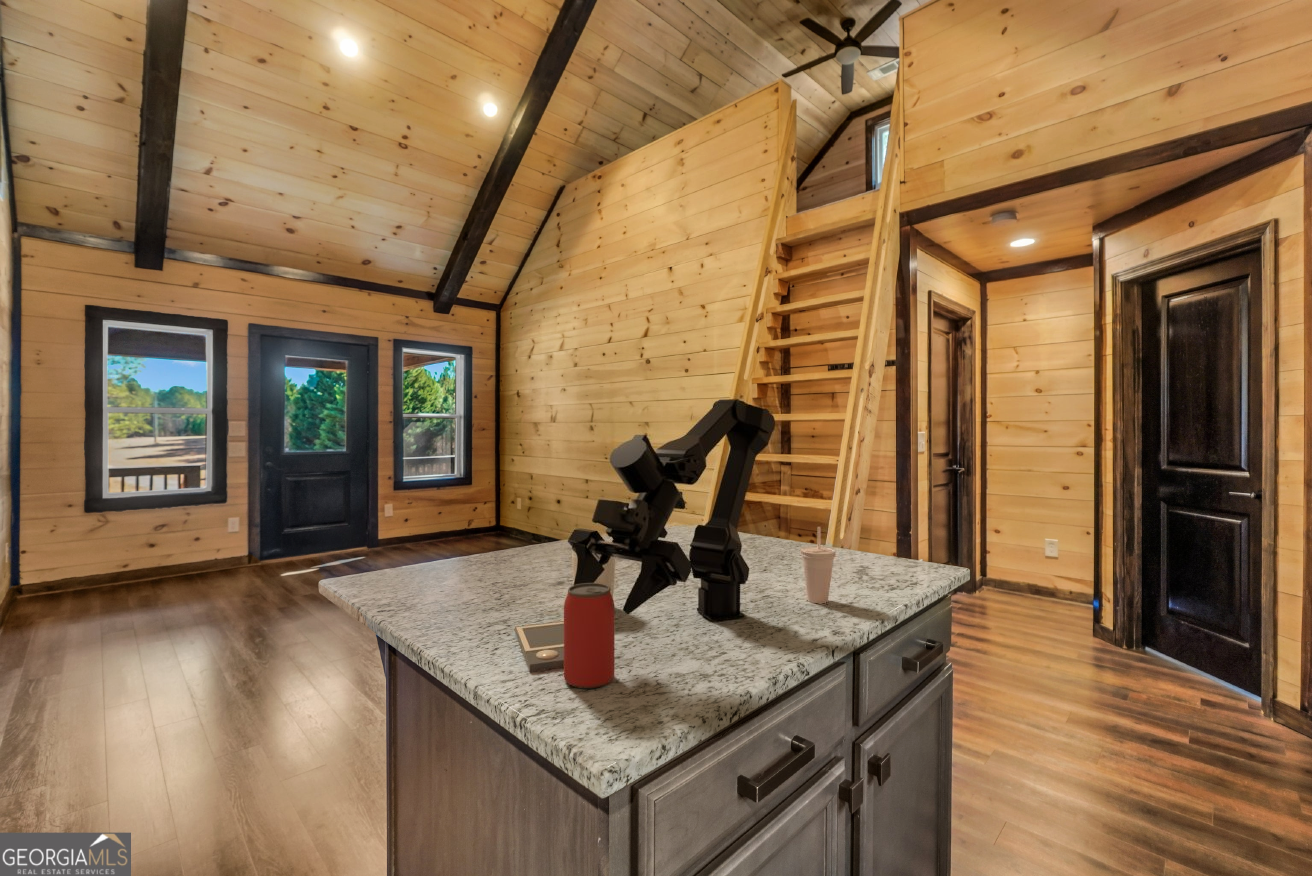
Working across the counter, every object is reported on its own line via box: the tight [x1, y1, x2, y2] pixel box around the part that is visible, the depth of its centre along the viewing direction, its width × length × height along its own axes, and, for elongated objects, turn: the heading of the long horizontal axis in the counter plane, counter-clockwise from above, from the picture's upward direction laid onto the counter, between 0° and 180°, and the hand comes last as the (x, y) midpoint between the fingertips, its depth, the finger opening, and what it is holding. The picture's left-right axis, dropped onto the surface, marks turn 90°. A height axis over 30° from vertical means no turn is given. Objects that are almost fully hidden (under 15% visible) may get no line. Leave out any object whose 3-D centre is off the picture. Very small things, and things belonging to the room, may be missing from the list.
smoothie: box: [800, 526, 837, 605], centre depth 112 cm, size 6×6×14 cm
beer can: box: [563, 583, 616, 689], centre depth 77 cm, size 7×7×12 cm
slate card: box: [514, 620, 564, 673], centre depth 89 cm, size 10×16×1 cm, turn 20°
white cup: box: [571, 551, 617, 599], centre depth 107 cm, size 8×8×10 cm
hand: (598, 605), depth 79 cm, fingers open, 9 cm apart
